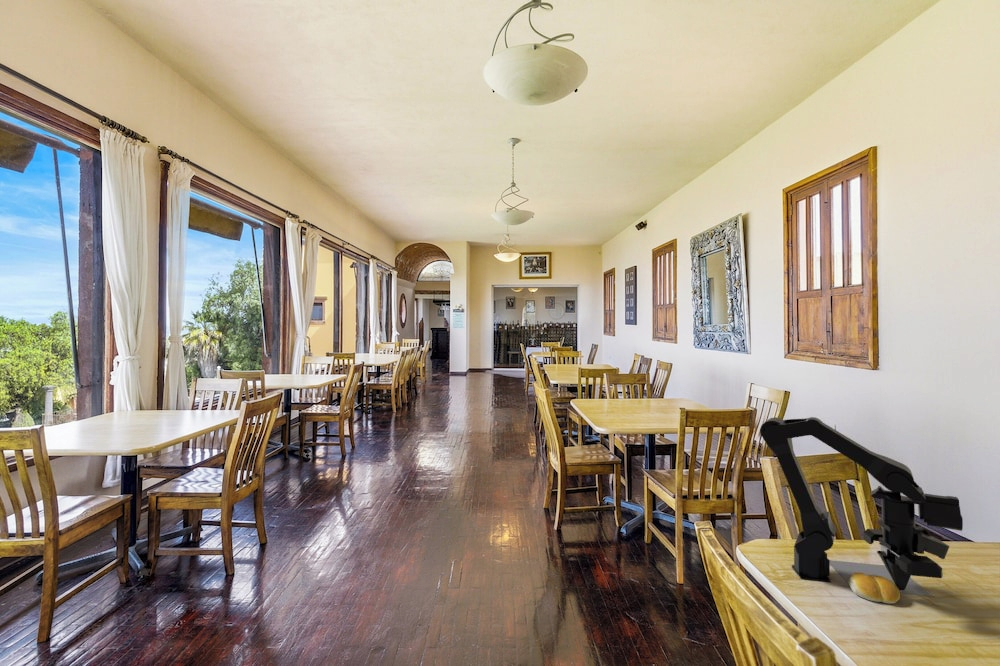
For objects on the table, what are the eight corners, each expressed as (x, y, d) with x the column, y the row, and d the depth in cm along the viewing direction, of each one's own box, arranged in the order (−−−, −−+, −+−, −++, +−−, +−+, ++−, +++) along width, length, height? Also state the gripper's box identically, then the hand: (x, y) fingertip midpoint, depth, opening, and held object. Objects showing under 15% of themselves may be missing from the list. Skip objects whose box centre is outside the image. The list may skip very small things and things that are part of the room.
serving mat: (853, 589, 109) (853, 588, 109) (826, 560, 123) (826, 559, 123) (933, 597, 105) (933, 596, 105) (896, 567, 119) (896, 566, 119)
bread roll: (907, 608, 101) (907, 590, 101) (858, 601, 104) (858, 584, 103) (888, 585, 109) (889, 568, 108) (843, 579, 111) (844, 563, 111)
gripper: (972, 539, 94) (975, 617, 94) (914, 508, 112) (917, 573, 112) (907, 535, 97) (910, 611, 96) (861, 505, 115) (863, 568, 114)
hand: (901, 589), depth 105 cm, fingers closed
